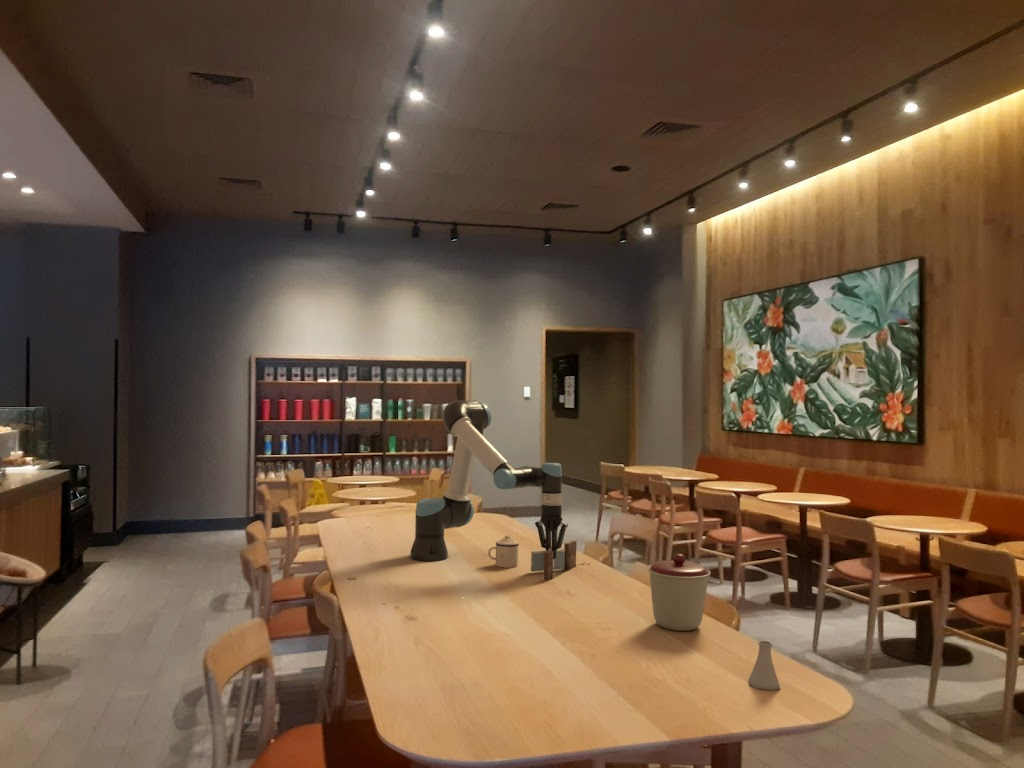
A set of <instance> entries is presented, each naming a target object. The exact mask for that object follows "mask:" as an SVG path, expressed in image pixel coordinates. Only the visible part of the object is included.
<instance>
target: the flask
mask: <svg viewBox="0 0 1024 768" xmlns="http://www.w3.org/2000/svg"><path fill="white" fill-rule="evenodd" d="M757 643H758V652H757V653H758V654H757V658H756V659H755V663H754V665H753V668H752V670H751V673H750V674H749V677H748V679H747V681H748V685H750V686H752V687H754V688H755V689H758V690H766V691H773V690H778V689H779V690H780V689H781V686H780V683H779V680H778V677H777V673H776V670H775V667H774V663H773V658H772V647H773V643H772V642H771V641H769V640H764V639H763V640H758V641H757Z"/></svg>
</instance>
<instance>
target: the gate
mask: <svg viewBox="0 0 1024 768" xmlns="http://www.w3.org/2000/svg"><path fill="white" fill-rule="evenodd" d="M544 552H546V549H540V550H538V549H537V550H531V551H530V553H531V555H530V556H531V557H530V572H542V571H543V572H544ZM564 566H565V549H564V548H559V549H557V551H556V558H555V559H554V567H553V571H554V570H555V571H556V570H563V569H564Z"/></svg>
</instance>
